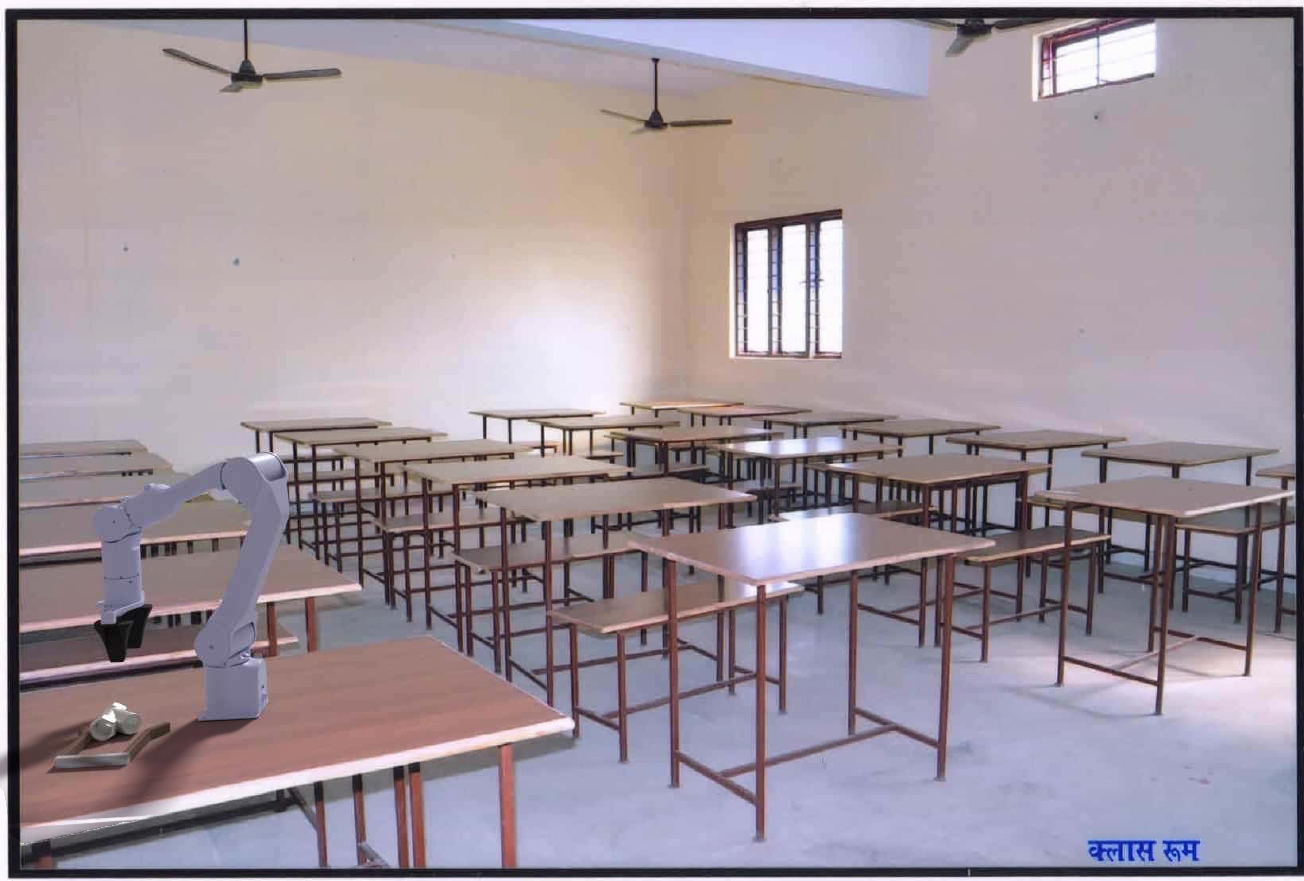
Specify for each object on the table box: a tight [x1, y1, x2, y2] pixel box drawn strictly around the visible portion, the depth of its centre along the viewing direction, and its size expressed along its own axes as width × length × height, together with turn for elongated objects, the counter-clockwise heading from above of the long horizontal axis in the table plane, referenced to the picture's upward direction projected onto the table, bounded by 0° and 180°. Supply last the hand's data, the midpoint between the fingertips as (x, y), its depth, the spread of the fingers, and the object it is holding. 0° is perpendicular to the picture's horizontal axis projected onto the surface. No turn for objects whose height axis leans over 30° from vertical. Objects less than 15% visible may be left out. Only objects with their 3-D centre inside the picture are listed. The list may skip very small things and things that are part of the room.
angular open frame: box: [53, 721, 171, 769], centre depth 156 cm, size 14×13×2 cm
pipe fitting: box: [89, 702, 143, 742], centre depth 163 cm, size 8×4×7 cm
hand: (125, 654), depth 172 cm, fingers open, 7 cm apart
